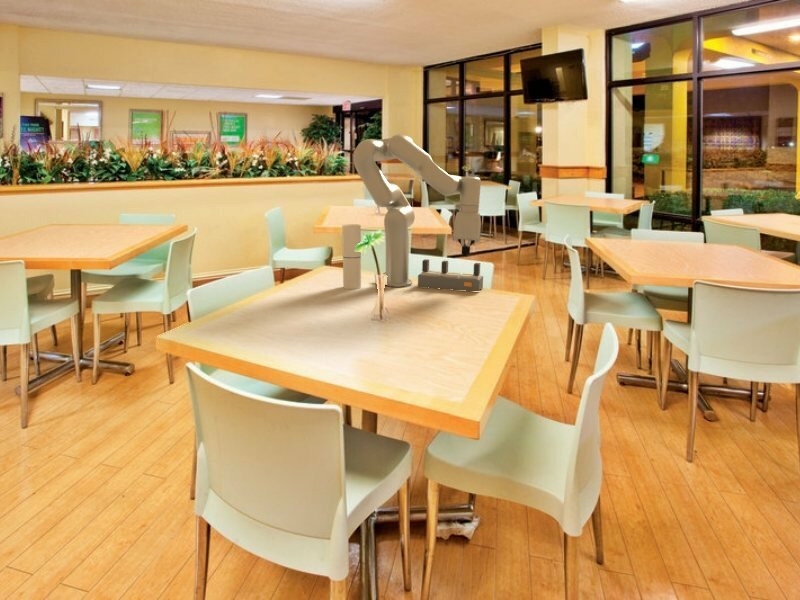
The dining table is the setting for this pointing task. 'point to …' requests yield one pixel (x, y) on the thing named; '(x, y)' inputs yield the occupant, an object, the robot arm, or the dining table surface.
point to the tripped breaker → (477, 269)
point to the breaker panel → (450, 280)
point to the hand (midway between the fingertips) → (465, 256)
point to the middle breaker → (444, 267)
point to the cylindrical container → (351, 256)
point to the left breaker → (425, 265)
